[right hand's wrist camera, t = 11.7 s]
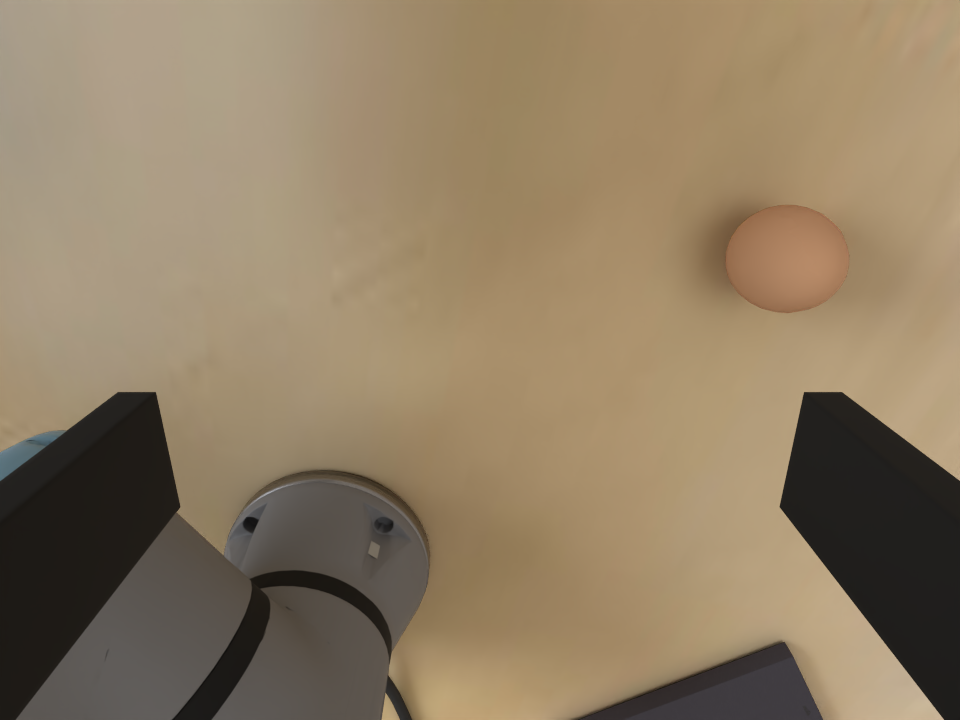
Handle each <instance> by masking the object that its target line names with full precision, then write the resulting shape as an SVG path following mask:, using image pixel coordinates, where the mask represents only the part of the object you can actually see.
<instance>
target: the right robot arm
mask: <svg viewBox="0 0 960 720" xmlns="http://www.w3.org/2000/svg"><path fill="white" fill-rule="evenodd" d="M179 508H180V503H179V498H178V494H177V489H176V484H175V480H174V475H173V470H172V466H171V461H170V456H169V451H168V447H167V442H166V437H165V433H164V428H163V423H162V419H161V414H160V409H159V405H158V400H157V395H156V392H118V393H116V394H115V395H114V396H112V397H111V398H110V399H108V400H107V401H106V402H104V403H103V404H102V405H100V406H99V407H98V408H96V409H95V410H94V411H92V412H91V413H90V414H89V415H87V416H86V417H85V418H83V419H82V420H81V421H79V422H78V423H77V424H75V425H74V426H73V427H71V428H70V429H69V430H67V431H50V432H46V433H42V434H39V435H36V436H33V437H31V438H28V439H26V440H24V441H22V442H20V443H18V444H16V445H14V446H12V447H10V448H8V449H6V450H4V451H2V452H0V720H381V719H382V712H383V705H384V699H385V692H386V694H387V695H388V697H389V698H390V700H391V702H392V703H393V705H394V707H395V710H396V712H397V714H398V716H399V718H400V720H412V719H411V717H410V714H409V712H408V710H407V708H406V705H405V703H404V701H403V699H402V697H401V695H400V693H399V691H398V689H397V688H396V686H395V685H394V683H393V682H392V680H391V679H390V677H389V676H388V671H389V664H390V658H391V653H392V650H393V649H394V647H395V645H396V644H397V642H398V640H399V639H400V637H401V635H402V634H403V632H404V631H405V629H406V627H407V626H408V624H409V622H410V621H411V619H412V617H413V616H414V614H415V612H416V611H417V609H418V607H419V605H420V603H421V600H422V598H423V595H424V593H425V590H426V587H427V582H428V575H429V566H430V550H429V544H428V540H427V537H426V534H425V531H424V529H423V527H422V525H421V523H420V521H419V520H418V518H417V517H416V515H415V514H414V513H413V511H412V510H411V509H410V508H409V507H408V506H407V505H406V503H405V502H403V501H402V500H401V499H400V498H399V497H398V496H396V495H395V494H394V493H392V492H391V491H390V490H388V489H386V488H385V487H383V486H381V485H379V484H377V483H375V482H373V481H371V480H368V479H366V478H363V477H360V476H357V475H353V474H348V473H344V472H336V471H309V472H302V473H297V474H293V475H290V476H287V477H283V478H281V479H279V480H277V481H274V482H273V483H271V484H269V485H267V486H266V487H264V488H263V489H261V490H260V491H259V492H258V493H256V494H255V495H254V496H253V497H252V498H251V499H250V500H249V501H248V503H247V504H246V505H245V507H244V508H243V510H242V511H241V513H240V514H239V516H238V518H237V519H236V521H235V523H234V525H233V527H232V528H231V531H230V533H229V536H228V540H227V543H226V547H225V551H224V556H223V555H222V554H221V553H220V552H219V551H218V550H217V549H216V548H215V547H213V546H212V545H211V544H210V543H209V542H208V541H207V540H206V539H205V538H204V537H203V536H201V535H200V534H199V533H198V532H197V531H196V530H195V529H194V528H193V527H192V526H191V525H190V524H188V523H187V522H186V521H185V520H184V519H183V518H182V517H181V516H180V515H179V514H178V513H176V512H177V511H178V509H179ZM780 508H781V509H782V511H783V512H784V513H785V515H786V516H787V517H788V518H789V520H790V521H791V522H792V524H793V525H794V526H795V527H796V529H797V530H798V531H799V533H800V534H801V535H802V537H803V538H804V539H805V540H806V542H807V543H808V544H809V546H810V547H811V548H812V549H813V551H814V552H815V553H816V555H817V556H818V557H819V558H820V560H821V561H822V562H823V564H824V565H825V566H826V568H827V569H828V570H829V571H830V573H831V574H832V575H833V577H834V578H835V579H836V580H837V582H838V583H839V584H840V586H841V587H842V588H843V590H844V591H845V592H846V593H847V595H848V596H849V597H850V599H851V600H852V601H853V602H854V604H855V605H856V606H857V608H858V609H859V610H860V611H861V613H862V614H863V615H864V617H865V618H866V619H867V621H868V622H869V623H870V624H871V626H872V627H873V628H874V630H875V631H876V632H877V633H878V635H879V636H880V637H881V639H882V640H883V641H884V643H885V644H886V645H887V646H888V648H889V649H890V650H891V652H892V653H893V654H894V655H895V657H896V658H897V659H898V661H899V662H900V663H901V664H902V666H903V667H904V668H905V670H906V671H907V672H908V674H909V675H910V676H911V677H912V679H913V680H914V681H915V683H916V684H917V685H918V686H919V688H920V689H921V690H922V692H923V693H924V694H925V696H926V697H927V698H928V699H929V701H930V702H931V703H932V705H933V706H934V707H935V708H936V710H937V711H938V712H939V714H940V715H941V716H942V717H943V719H944V720H960V481H959V480H958V479H956V478H955V477H954V476H952V475H951V474H950V473H948V472H947V471H946V470H945V469H943V468H942V467H941V466H939V465H938V464H937V463H935V462H934V461H933V460H931V459H930V458H929V457H927V456H926V455H925V454H923V453H922V452H921V451H919V450H918V449H917V448H915V447H914V446H913V445H911V444H910V443H909V442H907V441H906V440H905V439H903V438H902V437H901V436H899V435H898V434H897V433H895V432H894V431H893V430H891V429H890V428H889V427H887V426H886V425H885V424H883V423H882V422H881V421H879V420H878V419H877V418H875V417H874V416H873V415H871V414H870V413H869V412H868V411H866V410H865V409H864V408H862V407H861V406H860V405H858V404H857V403H856V402H854V401H853V400H852V399H850V398H849V397H848V396H846V395H845V394H844V393H842V392H804V395H803V400H802V405H801V409H800V414H799V419H798V423H797V428H796V433H795V437H794V442H793V447H792V451H791V456H790V461H789V466H788V470H787V475H786V480H785V484H784V489H783V494H782V498H781V503H780Z"/></svg>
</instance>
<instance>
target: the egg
mask: <svg viewBox="0 0 960 720" xmlns="http://www.w3.org/2000/svg"><path fill="white" fill-rule="evenodd" d="M848 268H849V252H848V248H847V245H846V242H845V240H844V237H843V235H842V233H841V231H840V230H839V229H838V228H837V226H836V225H835V224H834V223H833V222H832V221H830V220H829V219H828V218H827V217H825V216H824V215H823V214H821V213H819V212H816V211H814V210H811V209H809V208H806V207H801V206H797V205H780V206H774V207H769V208H766V209H764V210H762V211H759V212H757V213H755V214H754V215H752V216H750V217H749V218H748V219H746V220H745V221H744V222H743V223H742V224H741V225H740V226H739V227H738V228H737V229H736V231H735V232H734V234H733V235H732V237H731V239H730V242H729V244H728V247H727V251H726V270H727V274H728V277H729V279H730V282H731V283H732V285H733V286H734V288H735V289H736V291H737V292H738V293H739V294H740V295H741V296H742V297H744V298H745V299H746V300H748V301H749V302H750V303H752V304H754V305H756V306H758V307H760V308H762V309H766V310H770V311H774V312H782V313H791V312H797V311H803V310H807V309H810V308H813V307H816V306H818V305H820V304H822V303H823V302H825V301H827V300H828V299H829V298H830V297H831V296H833V295H834V294H835V293H836V292H837V290H838V289H839V288H840V287H841V285H842V283H843V282H844V280H845V278H846V276H847V272H848Z"/></svg>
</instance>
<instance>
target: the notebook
mask: <svg viewBox="0 0 960 720" xmlns="http://www.w3.org/2000/svg"><path fill="white" fill-rule="evenodd" d="M579 720H823V719H822V717H821V715H820V712H819V710H818V708H817V706H816V704H815V702H814V700H813V698H812V696H811V693H810V691H809V689H808V687H807V685H806V683H805V681H804V679H803V677H802V674H801V672H800V670H799V668H798V666H797V664H796V662H795V660H794V658H793V656H792V654H791V652H790V651H789V649H788V647H787V645H786V644H785V642H783V643H781V644H778V645H775V646H773V647H770V648H767V649H765V650H762V651H759V652H757V653H754V654H751V655H749V656H746V657H743V658H741V659H738V660H735V661H733V662H730V663H728V664H725V665H722V666H720V667H717V668H714V669H712V670H709V671H706V672H704V673H701V674H698V675H696V676H693V677H690V678H688V679H685V680H682V681H680V682H677V683H674V684H672V685H669V686H667V687H664V688H661V689H659V690H656V691H653V692H651V693H648V694H645V695H643V696H640V697H637V698H635V699H632V700H629V701H627V702H624V703H621V704H619V705H616V706H613V707H611V708H608V709H606V710H603V711H600V712H598V713H595V714H592V715H590V716H587V717H584V718H582V719H579Z"/></svg>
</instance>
